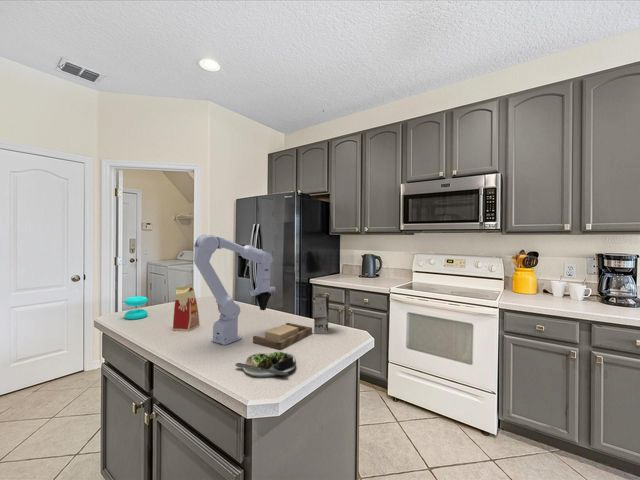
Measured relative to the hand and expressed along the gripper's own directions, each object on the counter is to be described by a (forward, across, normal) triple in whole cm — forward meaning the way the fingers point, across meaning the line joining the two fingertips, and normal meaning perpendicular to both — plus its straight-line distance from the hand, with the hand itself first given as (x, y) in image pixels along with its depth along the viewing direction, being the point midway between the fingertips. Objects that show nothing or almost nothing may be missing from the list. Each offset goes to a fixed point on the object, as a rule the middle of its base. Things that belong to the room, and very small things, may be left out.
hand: (262, 309), depth 131 cm
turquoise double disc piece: (+10, +17, -69) cm, 72 cm away
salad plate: (+11, +24, +25) cm, 36 cm away
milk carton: (+10, +14, -34) cm, 38 cm away
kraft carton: (+11, +1, +11) cm, 15 cm away
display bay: (+10, 0, +11) cm, 15 cm away
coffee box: (+10, -17, +20) cm, 28 cm away
